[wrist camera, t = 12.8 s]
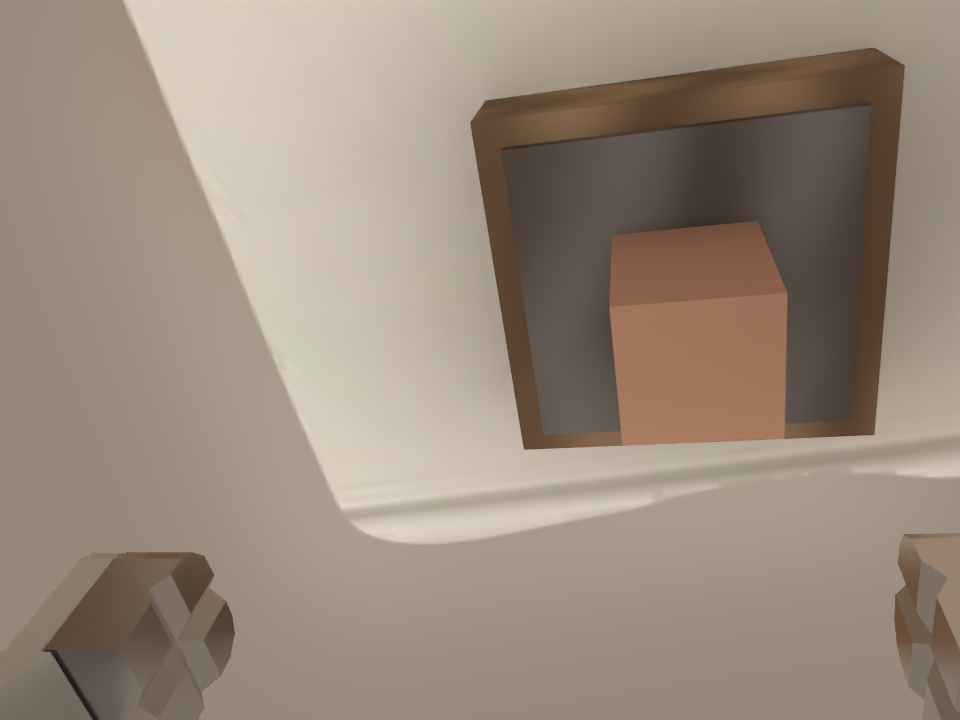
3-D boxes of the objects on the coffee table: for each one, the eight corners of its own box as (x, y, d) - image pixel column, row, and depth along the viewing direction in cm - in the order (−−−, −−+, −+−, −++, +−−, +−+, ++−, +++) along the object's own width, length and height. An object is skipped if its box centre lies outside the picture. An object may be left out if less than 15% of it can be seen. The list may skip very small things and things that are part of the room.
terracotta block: (757, 221, 28) (787, 293, 23) (757, 347, 30) (784, 438, 25) (612, 235, 29) (609, 307, 24) (622, 356, 31) (622, 445, 26)
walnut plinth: (874, 47, 28) (908, 67, 25) (852, 387, 35) (877, 440, 31) (485, 100, 31) (468, 125, 28) (532, 404, 38) (522, 455, 34)
